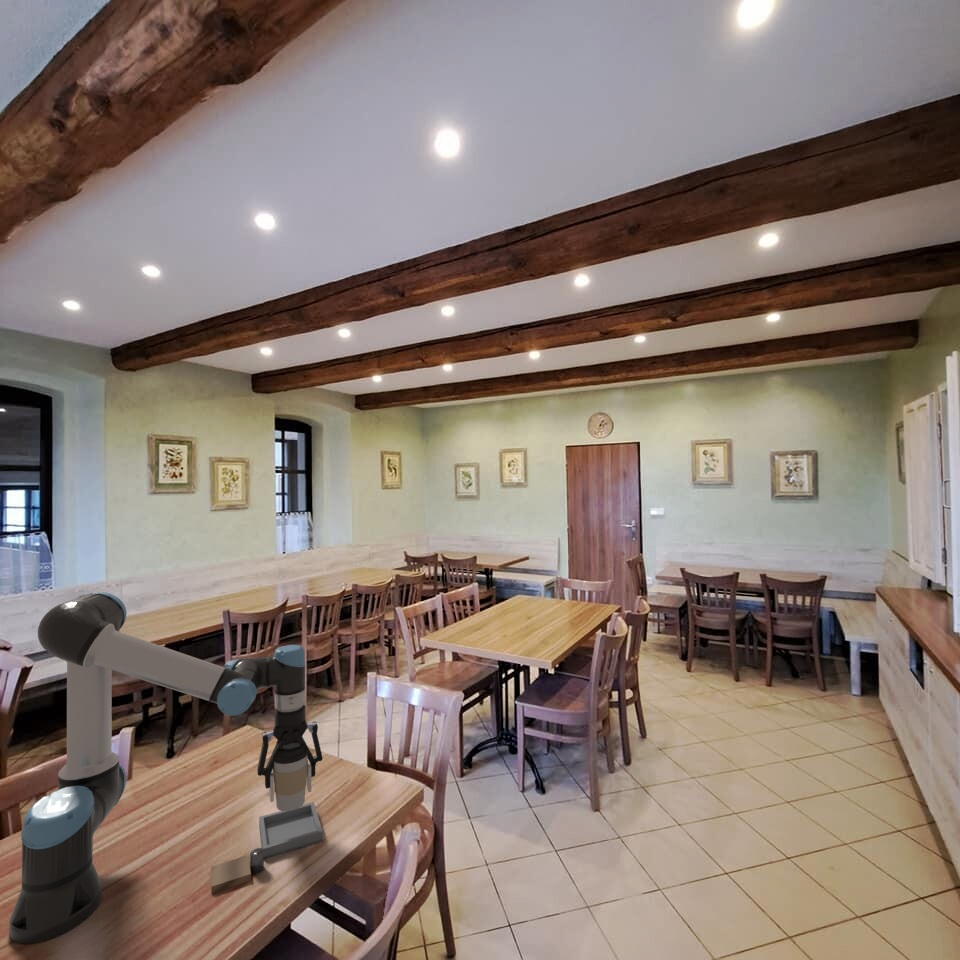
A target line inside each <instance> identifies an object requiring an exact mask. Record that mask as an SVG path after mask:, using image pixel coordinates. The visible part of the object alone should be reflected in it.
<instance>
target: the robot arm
mask: <svg viewBox="0 0 960 960" xmlns="http://www.w3.org/2000/svg"><path fill="white" fill-rule="evenodd" d="M127 615H128V614H127V608H126V606H125V604H124V602H123V601H122V600H121V598H119V597H117V596H116V595H115V594H113V593H109V592H107V591H106V592H104V591H96V592H90V593H84V594H81V595H79V596H78V597H76V598H73V599H71V600H69V601H64V602H62V603H59V604H58V605H56V606H54V607H53V608H51V609H49V610H48V612H46V613H45V614H44V616H43V617H42V619H41V621H40V622H39V625H38V628H37V639H38V640H39V644H40V645H41V647H42V648H43V650H45V651H46V652H48V653H49V654H50V655H51V656H53V657H55V658H58V659H60V660H63V661H65V662H66V764H64V766H63V767H61V768H60V769H59V771H58V776H57V777H58V778H57V779H58V781H57V782H58V783H57V790H55V791H52V792H50V793H49V794H48V795H45V796H42V797H41V798H40V799H39V800H37V801H36V802H35V803H34V804H32V805H31V806H30V808H29V809H28V810H27V812H26V813H25V816H24V817H23V821H22V828H21V831H20V837H21V889H20V892H19V895H18V898H17V900H16V902H15V906H14V908H13V911H12V913H11V916H10V920H9V926H8V927H9V928H8V929H9V933H8V934H9V935H8V936H9V938H10V939H11V940H12V941H13V942H15V943H18V944H34V943H40V942H43V941H44V942H45V941H48V940H50V939H53V938H56V937H58V936H61V935H62V934H65V933H67V932H68V931H70V930H72V929H74V928H75V927H76V926H78V925H80V924H81V923H83V922H84V921H85V920H86V919H88V918H89V917H90V916H91V915H92V914H93V913H94V912H95V911H96V910H97V908H98V907H99V905H100V903H101V902H102V898H103V885H102V881H101V879H100V876H99V874H98V871H97V870H96V868H95V865H94V864H93V862H94V861H93V855H94V854H93V850H94V849H93V847H94V845H93V842H94V840H93V839H94V834H95V833H96V831H97V830H98V829H99V827H100V826H101V824H102V823H103V822H104V820H105V819H106V818H107V817H108V815H109V814H110V813H111V811H112V810H113V809H114V807H116V805H117V804H118V803H119V801H120V799H121V798H122V796H123V793H124V791H125V788H126V784H127V773H126V770H125V768H124V766H123V765H120V757H119V755H118V754H117V753H115V752H113V751H112V750H113V749H112V745H113V744H112V738H113V737H112V735H113V734H112V730H113V729H112V725H113V723H112V720H113V719H112V718H113V716H112V715H113V713H112V712H113V711H112V707H113V706H112V702H113V700H112V699H113V698H112V697H113V695H112V694H113V693H112V692H113V690H112V689H113V688H112V687H113V682H112V681H113V680H112V678H113V675H112V674H113V673H112V672H113V671H114V672H118V673H120V674H122V675H123V674H124V675H126V676H129V677H133V678H136V679H139V680H141V681H142V680H143V681H145V682H148V683H151V684H154V685H158V686H161V687H165V688H167V689H171V690H174V691H176V692H180V693H183V694H186V695H189V696H192V697H196V698H199V699H202V700H205V701H208V702H210V703H213V704H215V705H216V704H217V707H218V709H219V710H220V712H221V713H222V714H225V715H226V716H234V717H235V716H239V715H241V714H244V713H245V712H246V711H247V710H248V709H249V708H251V705H252V704H253V702H254V701H255V700H256V697H257V694H258V690H260V689H262V688H271V687H274V708H275V710H274V727H273V729H272V731H268V732H267V731H263V732H262V733H261V738H262V743H261V750H260V753H259V758H258V762H257V763H258V764H257V768H256V769H257V770H256V771H257V775H258V776H259V777H261V776H264V785H265V786H264V787H265V789H269V801H270V803H274V802H275V801H274V799H275V798H274V795H275V794H274V792H275V787H274V775H273V767H274V762H273V760H274V757H275V756H276V755H277V753H278V751H281V750H282V748H283V746H284V745H288V744H290V743H297V742H299V744H300V746H301V747H302V746H304V747H305V749H308V756H307V760H308V767H307V781H306V789H307V792H308V793H311V792H312V778H313V777H315V776H316V766H317V763H318V762H322V761H323V755H322V749H321V745H320V741H319V736H318V728H319V727H318V723H317V721H312V722H311V723H307V721H306V704H305V703H306V657H305V656H306V653H305V648H304V647H303V646H301V645H298V644H287V645H284V646H283V645H282V646H279V647H277V648H276V649H275V650H274V653H273V655H271V656H261V657H250V658H241V657H240V658H238V659H233V660H227V662H226V663H225V664H224V666H221V665H218V664H215V663H211V662H209V661H206V660H203V659H200V658H197V657H194V656H192V655H188V654H186V653H182V652H180V651H177V650H174V649H171V648H169V647H165V646H162V645H159V644H156V643H153V642H151V641H147V640H144V639H141V638H140V637H139V638H138V637H136V636H133V635H130V634H127V633H124V632H121V631H120V629H122V627H124V624H125V622H126V619H127ZM307 730H308V731H309V733H311V738H312V743H313V746H314V751H315V755H313V754H312V752H311V749H310V747H309V746H308V745H307V742H306V741H305V739H304V737H303V735H305V733H306V731H307ZM273 737H274V738H275V739H276V740H277V741H276V743H275V746H274V749H273V750H272V753H271V755H270V757H269V759H268V761H267V764H266V760H267V754H268V751H269V745H270V744H269V742H271V741H272V739H273ZM265 765H266V766H265Z"/></svg>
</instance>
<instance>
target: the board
mask: <svg viewBox="0 0 960 960" xmlns="http://www.w3.org/2000/svg"><path fill="white" fill-rule="evenodd" d="M210 870H211V871H210V872H211V873H210V876H211V877H210V882H211V883H210V885H211V889H210V892H211V894H214V893H217V892H220V891H223V890H227V889H230V888H232V887H236V886H238V885H242V884H244V883H248V882H250V881H252V874H251V871H250V854H247V855H242V856H240V857H238V858H234V859H231V860H227V861H224V862H222V863H218V864H215V865H212V866H211V867H210Z"/></svg>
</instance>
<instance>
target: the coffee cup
mask: <svg viewBox="0 0 960 960" xmlns="http://www.w3.org/2000/svg"><path fill="white" fill-rule="evenodd" d="M307 756H308V749H305V747H304V746H302V747H301V746H300V744H299V742H297V743H290V744H288V745H284V746H283V748H282V750H281V751H278V753H277V755H276V756H275V757H274V760H273V762H274V767H273V770H272V771H273V775H274V792H275V801H276V803H275V804H276V808H277V810H278V811H292V810H295V809H297V808H299V807H301V806H302V805H305V804H304V803H305V802H306V801H305V799H306V788H307V767H308V762H309V760H308V758H307Z"/></svg>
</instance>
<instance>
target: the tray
mask: <svg viewBox="0 0 960 960" xmlns="http://www.w3.org/2000/svg"><path fill="white" fill-rule="evenodd" d="M258 818H259V819H258V820H259V821H258V822H259V823H258V827H259V835H260V836H259V837H260V844H261V848H262V849H264V860H266V859H270V858H273V857H276V856H279V855H283V854H286V853H289V852H291V851H296V850H299V849H302V848H305V847H308V846H312V845H315V844H318V843H322V842H323V839H324V838H323V836H324V835H323V829H322V826H321V822H320V819H319V814H318V812H317V809H316V805H315V802H314V801H312V802H309V803H305V804H303V805H302V806H301V807H299V808H297V809H295V810H292V811H281V810H278V811H277V812H272V813H268V814H265V815H264V814H263V815H260V816H259V817H258Z"/></svg>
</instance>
